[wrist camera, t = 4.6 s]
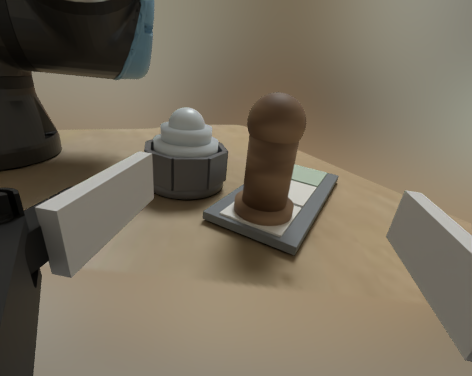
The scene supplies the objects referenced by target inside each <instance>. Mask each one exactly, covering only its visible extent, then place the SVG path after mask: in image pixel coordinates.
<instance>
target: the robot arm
mask: <svg viewBox="0 0 472 376" xmlns="http://www.w3.org/2000/svg"><path fill="white" fill-rule="evenodd" d="M153 20H154V0H0V170H4V169H10V168H16V167H21V166H26V165H30V164H34V163H38V162H41V161H44V160H47V159H49V158H51V157H54V156H55V155H57V154H58V153H60V151H61V150H62V147H61V141H60V136H59V133H58V131H57V130H56V128H55V126H54V124H53V123H52V121H51V119H50V117H49V116H48V114H47V112H46V111H45V109H44V107H43V105H42V104H41V102H40V100H39V98H38V97H37V95H36V92H35V88H34V83H33V79H32V73H31V71H34V72H46V73H56V74H66V75H76V76H86V77H87V76H88V77H96V78H107V79H114V80H119V79H140V78H143V77H144V76H145V75H146V74H147V72H148V70H149V66H150V59H151V51H152V38H153V32H152V29H153ZM153 199H154V186H153V161H152V153H147V152H140V151H139V152H137V153H135V154H133V155H131V156H129V157H128V158H126V159H124V160H122V161H120V162H118V163H116V164H115V165H113V166H111V167H109V168H107V169H105V170H103V171H101V172H100V173H98V174H96V175H94V176H92V177H90V178H88V179H87V180H85V181H83V182H81V183H79V184H77V185H75V186H72V187H69V188H66V189H64V190H63V191H61V192H59V193H58V194H55V195H53V196H51V197H50V198H49V199H46V200H44V201H42V202H40V203H38V204H36V205H34V206H32V207H30V208H28V209H27V210H25V211H24V210H23V207H22V203H21V200H20V196H19V193H18V190H15V189H13V188H0V376H33V369H34V359H35V348H36V336H37V324H38V313H39V302H40V289H41V279H42V275H41V271H40V267H41V266H43V265H44V264H45V263H46V262H48V261H49V264H50V268H51V272H52V274H55V275H61V276H65V277H70V278H72V277H73V276H74V275H75V274H76V273H77V272H78V271H79V270H80V269H81V268H82V267H83V266H84V265H85V264H86V263H87V262H88V261H89V260H90V259H91V258H92V257H93V256H94V255H95V254H97V253H98V252H99V251H100V250H101V249H102V248H103V247H104V246H105V245H106V244H107V243H108V242H109V241H110V240H111V239H112V238H113V237H114V236H115V235H116V234H117V233H118V232H119V231H120V230H121V229H122V228H123V227H125V226H126V225H127V224H128V223H129V222H130V221H131V220H132V219H133V218H134V217H135V216H136V215H137V214H138V213H139V212H140V211H141V210H142V209H143V208H144V207H145V206H146V205H147V204H148V203H149V202H150V201H152V200H153ZM386 237H387V239H388V240H389V242H390V244H391V245H392V247H393V248H394V250H395V251H396V253H397V255H398V256H399V258H400V259H401V261H402V262H403V264H404V265H405V267H406V269H407V270H408V272H409V273H410V275H411V276H412V278H413V280H414V281H415V283H416V284H417V286H418V287H419V289H420V291H421V292H422V294H423V295H424V297H425V298H426V300H427V301H428V303H429V305H430V306H431V308H432V309H433V311H434V312H435V314H436V316H437V317H438V319H439V320H440V322H441V323H442V325H443V326H444V328H445V330H446V331H447V333H448V334H449V336H450V337H451V339H452V341H453V342H454V343H455V345H456V347H457V348H458V350H459V351H460V353H461V355H462V356H463V357H464V359H465V360H467V361H471V362H472V235H470V234H469V233H468V232H467V231H466V230H465V229H463V228H462V227H461V226H460V225H459V224H458V223H456V222H455V221H454V220H453V219H452V218H450V217H449V216H448V215H447V214H446V213H445V212H443V211H442V210H441V209H440V208H439V207H438V206H436V205H435V204H434V203H433V202H432V201H430V200H429V199H428V198H427V197H426V196H425V195H423V194H422V193H419V192H412V191H404V194H403V196H402V199H401V201H400V204H399V206H398V209H397V211H396V214H395V216H394V219H393V221H392V224H391V226H390V228H389V231H388V233H387V236H386Z"/></svg>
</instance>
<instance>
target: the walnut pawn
mask: <svg viewBox="0 0 472 376" xmlns="http://www.w3.org/2000/svg"><path fill="white" fill-rule="evenodd" d="M247 125H248V131H249V134H250V135H249V144H248V152H247V161H246V170H245V178H244V187H243V190H242V191H240V192H238V193H237V194H236V196H235V201H234V211H235V213H236V214H237V215H238V216H239V217H240V218H242V219H244V220H245V221H248V222H250V223H253V224H257V225H262V226H278V225H282V224H285V223H287V222H288V221H289V220H290V219H291V217H292V213H293V208H294V204H293V202H292V200H291V199H290V198H288V194H289V189H290V184H291V179H292V174H293V169H294V164H295V159H296V154H297V149H298V143H299V140H300V139H301V137H302V136H303V134H304V131H305V128H306V115H305V111H304V109H303V107H302V105H301V104H300V103H299V102H298V100H296V99H295V98H294V97H292V96H291V95H289V94H285V93H279V92H276V93H270V94H267V95H265V96H263V97H261V98H260V99H259V100H258V101H257V102H256V103H255V104H254V105H253V107H252V108H251V110H250V112H249V116H248V123H247Z"/></svg>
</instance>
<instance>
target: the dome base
mask: <svg viewBox="0 0 472 376" xmlns="http://www.w3.org/2000/svg"><path fill="white" fill-rule="evenodd" d="M144 151H145V152H147V153H152V161H153V186H154V193H156V194H158V195H161V196H164V197H168V198H173V199H200V198H205V197H209V196H211V195H214V194H216V193H218V192H219V191H220V190H221V189H222V187H223V182H224V181H225V180H226V171H227V159H228V151H227V149H226V148H225V147H224V146H223V144H222V143H220V142H218V153H217V154H214V155H211V156H209V157H172V156H168V155H165V154H162V153H158V152H155V151H154V143H153V140H148V141H147V142H145V150H144Z"/></svg>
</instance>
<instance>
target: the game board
mask: <svg viewBox="0 0 472 376" xmlns="http://www.w3.org/2000/svg"><path fill="white" fill-rule="evenodd" d="M337 180H338V176H337V175H333V174H329V173H326V172H322V171H318V170H315V169H311V168H307V167H303V166H299V165H295V164H294V169H293V174H292V179H291V184H290V189H289V194H288V198H290V199H291V200H292V202H293V204H294V208H293V213H292V217H291V219H290V220H289V221H288V222H287V223H285V224H282V225H278V226H262V225H257V224H253V223H250V222H248V221H245V220H244V219H242V218H240V217H239V216H238V215H237V214H236V213H235V211H234V201H235V196H236V194H237V193H238V192H240V191H242V190H243V187H244V184H243V185H242V186H240V187H239V188H237V189H236V190H234V191H233V192H231V193H230V194H228V195H227V196H225V197H224V198H222V199H221V200H219V201H218V202H216V203H215V204H213V205H212V206H210V207H209V208H207V209H206V210H204V211H203V219H205V220H207V221H210V222H212V223H215V224H217V225H220V226H222V227H225V228H227V229H230V230H232V231H235V232H237V233H240V234H242V235H245V236H247V237H250V238H252V239H255V240H257V241H260V242H262V243H265V244H267V245H269V246H272V247H274V248H277V249H279V250H282V251H284V252H287V253H289V254H292V255H294V256H295V254H296V252H297V250H298V249H299V247H300V245H301V243H302V242H303V240H304V238H305V236H306V235H307V233H308V231H309V229H310V228H311V226H312V224H313V222H314V221H315V219H316V217H317V215H318V214H319V212H320V210H321V208H322V207H323V205H324V203H325V201H326V200H327V198H328V196H329V194H330V193H331V191H332V189H333V187H334V186H335V184H336V182H337Z"/></svg>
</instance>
